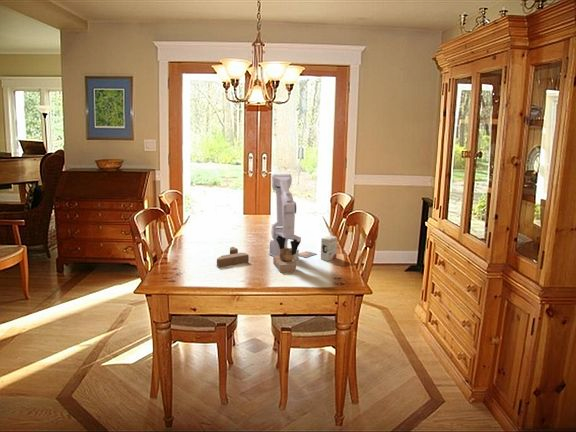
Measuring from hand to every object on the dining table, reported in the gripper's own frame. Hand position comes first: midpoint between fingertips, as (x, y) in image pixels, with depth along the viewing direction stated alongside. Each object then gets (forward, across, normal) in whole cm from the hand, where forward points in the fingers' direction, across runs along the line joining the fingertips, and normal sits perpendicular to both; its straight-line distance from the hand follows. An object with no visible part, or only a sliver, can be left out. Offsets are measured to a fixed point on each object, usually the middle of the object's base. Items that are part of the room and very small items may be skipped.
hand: (287, 252), depth 246 cm
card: (+7, -7, +24) cm, 26 cm away
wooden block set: (+8, -29, -14) cm, 33 cm away
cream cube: (+8, -8, +13) cm, 17 cm away
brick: (+8, -1, -1) cm, 8 cm away
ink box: (+8, +6, +27) cm, 29 cm away
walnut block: (+3, 0, 0) cm, 3 cm away
